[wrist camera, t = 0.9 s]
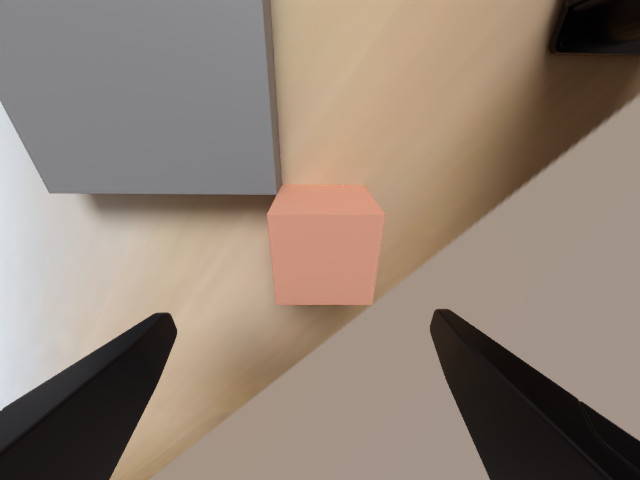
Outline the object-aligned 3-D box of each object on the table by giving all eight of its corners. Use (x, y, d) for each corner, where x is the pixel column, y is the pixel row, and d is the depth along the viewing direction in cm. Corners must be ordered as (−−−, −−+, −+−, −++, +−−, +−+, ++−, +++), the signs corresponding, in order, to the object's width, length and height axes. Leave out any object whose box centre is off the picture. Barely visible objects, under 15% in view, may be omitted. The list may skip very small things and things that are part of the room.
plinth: (262, -126, 11) (247, -190, 8) (281, 184, 17) (276, 194, 15) (-60, -137, 10) (-164, -207, 8) (84, 183, 17) (49, 193, 15)
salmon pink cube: (363, 185, 17) (385, 214, 12) (357, 255, 20) (372, 304, 15) (282, 184, 17) (266, 214, 12) (286, 254, 20) (276, 305, 15)
